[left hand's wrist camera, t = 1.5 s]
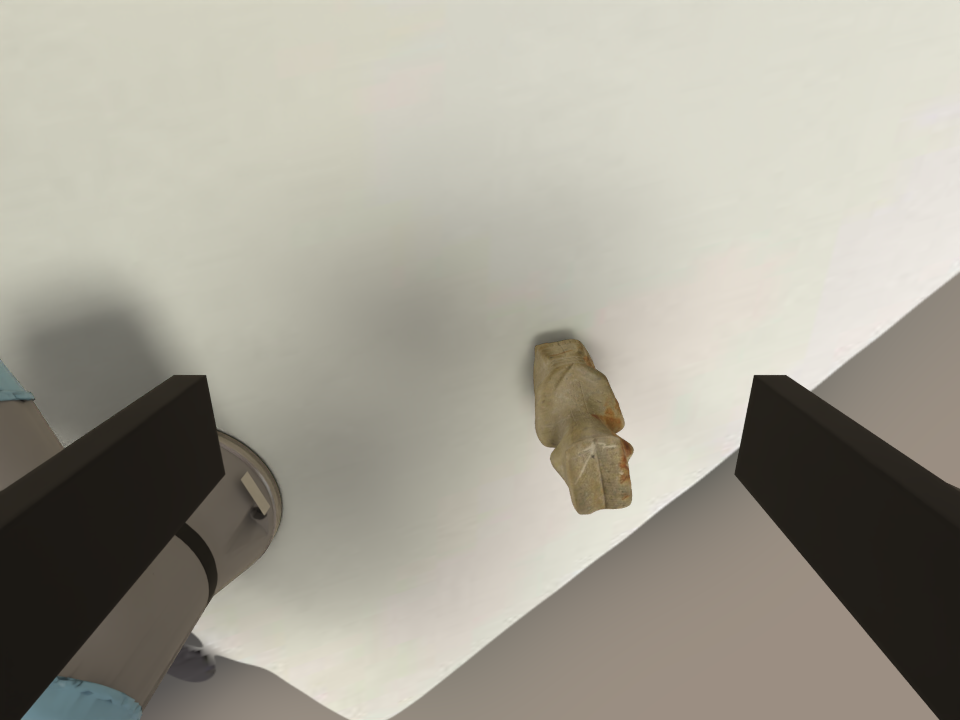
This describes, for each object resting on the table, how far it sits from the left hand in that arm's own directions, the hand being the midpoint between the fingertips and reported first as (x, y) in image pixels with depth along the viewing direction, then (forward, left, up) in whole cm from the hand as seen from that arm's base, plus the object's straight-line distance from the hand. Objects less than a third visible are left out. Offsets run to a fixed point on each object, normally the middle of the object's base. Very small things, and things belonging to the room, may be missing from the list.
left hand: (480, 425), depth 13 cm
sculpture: (-3, -12, -29) cm, 31 cm away
